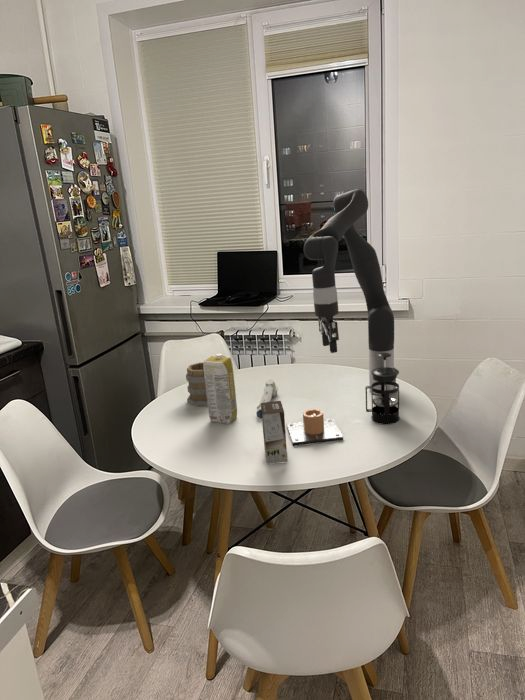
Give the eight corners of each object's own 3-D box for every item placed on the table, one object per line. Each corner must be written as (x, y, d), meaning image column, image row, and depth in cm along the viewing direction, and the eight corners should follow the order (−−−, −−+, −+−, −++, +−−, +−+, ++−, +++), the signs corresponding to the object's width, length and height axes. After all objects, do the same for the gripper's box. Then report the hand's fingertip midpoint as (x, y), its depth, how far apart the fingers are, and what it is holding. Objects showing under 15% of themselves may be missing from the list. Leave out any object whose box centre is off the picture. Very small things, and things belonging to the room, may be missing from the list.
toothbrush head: (253, 409, 183) (264, 375, 205) (255, 425, 186) (266, 390, 208) (268, 409, 182) (277, 375, 204) (270, 425, 185) (279, 390, 207)
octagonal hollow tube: (302, 427, 172) (301, 408, 170) (321, 424, 172) (320, 406, 170) (306, 435, 166) (305, 416, 164) (325, 433, 166) (324, 414, 164)
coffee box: (288, 462, 153) (284, 412, 148) (266, 464, 152) (262, 414, 148) (284, 447, 162) (281, 400, 157) (264, 450, 161) (259, 402, 157)
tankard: (199, 408, 197) (195, 371, 192) (182, 400, 206) (177, 364, 202) (241, 393, 208) (238, 358, 204) (223, 386, 218) (220, 352, 213)
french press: (399, 412, 180) (399, 349, 173) (403, 424, 171) (403, 357, 164) (365, 413, 181) (363, 350, 174) (367, 425, 172) (365, 359, 166)
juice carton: (240, 416, 187) (234, 352, 180) (230, 425, 180) (223, 360, 173) (217, 413, 191) (210, 351, 184) (206, 422, 184) (199, 358, 177)
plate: (333, 421, 177) (332, 404, 175) (343, 440, 163) (342, 422, 161) (286, 427, 176) (285, 410, 174) (292, 446, 162) (291, 427, 160)
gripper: (308, 298, 172) (313, 345, 176) (320, 306, 158) (324, 356, 163) (330, 295, 173) (334, 341, 177) (343, 302, 159) (347, 352, 163)
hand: (329, 348), depth 170 cm, fingers open, 8 cm apart
